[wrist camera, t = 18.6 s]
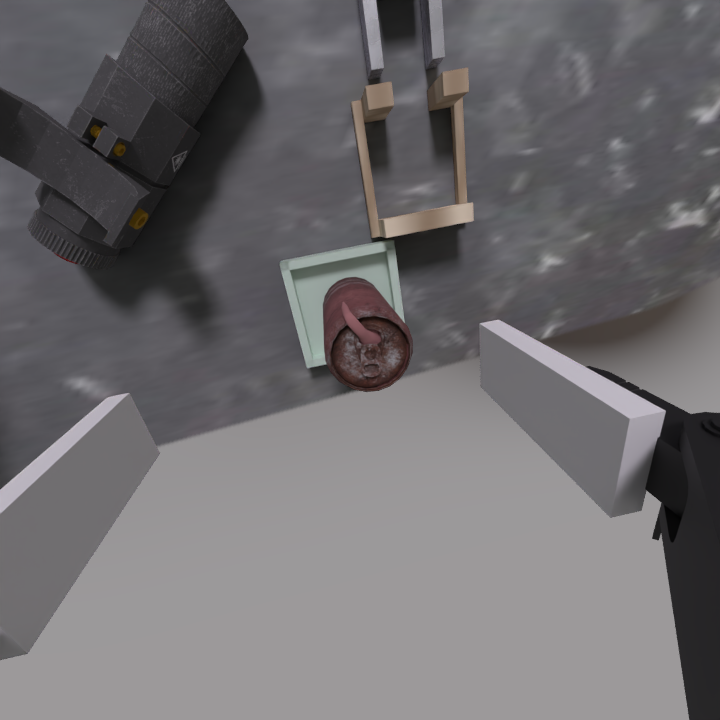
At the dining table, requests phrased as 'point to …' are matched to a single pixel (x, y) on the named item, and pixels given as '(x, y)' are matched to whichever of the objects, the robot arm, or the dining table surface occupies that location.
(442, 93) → the socket
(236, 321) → the dining table surface
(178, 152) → the laser sight
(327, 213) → the dining table surface
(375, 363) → the can
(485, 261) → the dining table surface
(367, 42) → the keeper guide
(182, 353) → the dining table surface
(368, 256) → the pale green shallow tray
